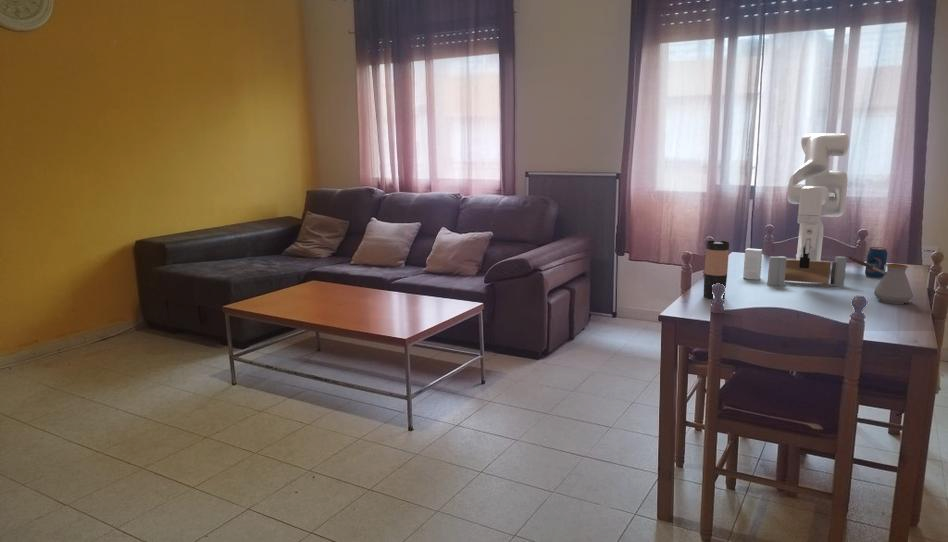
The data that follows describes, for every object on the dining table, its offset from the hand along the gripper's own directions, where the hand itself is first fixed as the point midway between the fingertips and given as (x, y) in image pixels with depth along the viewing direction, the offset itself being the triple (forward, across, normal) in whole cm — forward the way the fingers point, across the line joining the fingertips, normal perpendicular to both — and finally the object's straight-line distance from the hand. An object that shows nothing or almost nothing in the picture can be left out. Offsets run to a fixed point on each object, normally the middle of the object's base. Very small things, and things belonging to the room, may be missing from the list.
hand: (803, 267), depth 245 cm
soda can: (+7, +31, -30) cm, 43 cm away
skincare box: (+8, +11, +18) cm, 22 cm away
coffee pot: (+8, -13, -22) cm, 27 cm away
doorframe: (+8, +5, -2) cm, 9 cm away
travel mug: (+8, -28, +31) cm, 43 cm away
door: (+7, +8, -2) cm, 11 cm away
